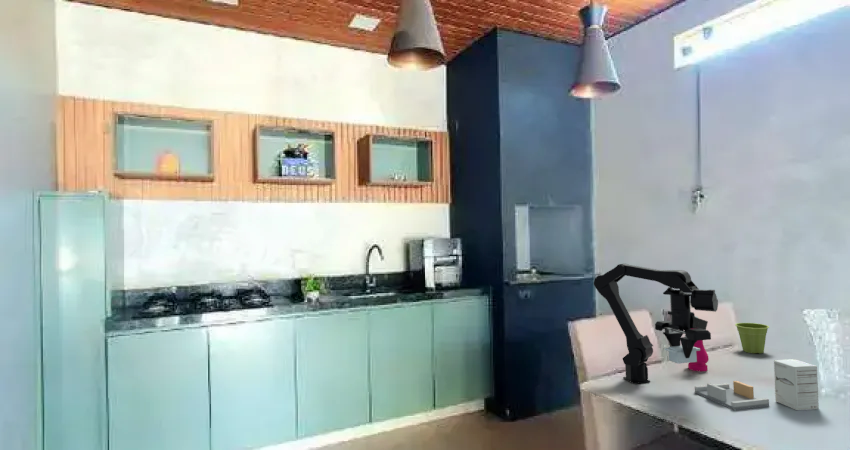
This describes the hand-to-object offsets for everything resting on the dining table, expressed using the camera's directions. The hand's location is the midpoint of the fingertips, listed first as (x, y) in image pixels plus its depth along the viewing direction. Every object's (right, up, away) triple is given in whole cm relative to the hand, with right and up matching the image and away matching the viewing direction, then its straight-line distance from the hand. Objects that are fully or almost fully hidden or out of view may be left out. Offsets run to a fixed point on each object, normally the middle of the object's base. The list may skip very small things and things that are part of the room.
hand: (682, 356), depth 150 cm
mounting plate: (+10, -11, -9) cm, 17 cm away
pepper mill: (+18, -11, +22) cm, 31 cm away
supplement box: (+25, -10, -15) cm, 31 cm away
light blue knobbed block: (0, -2, 0) cm, 2 cm away
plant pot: (+55, -11, +44) cm, 71 cm away
